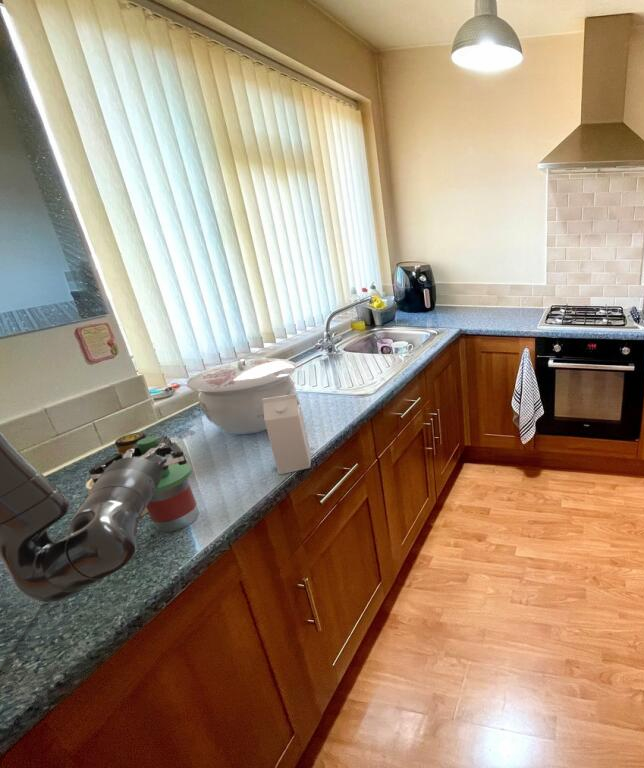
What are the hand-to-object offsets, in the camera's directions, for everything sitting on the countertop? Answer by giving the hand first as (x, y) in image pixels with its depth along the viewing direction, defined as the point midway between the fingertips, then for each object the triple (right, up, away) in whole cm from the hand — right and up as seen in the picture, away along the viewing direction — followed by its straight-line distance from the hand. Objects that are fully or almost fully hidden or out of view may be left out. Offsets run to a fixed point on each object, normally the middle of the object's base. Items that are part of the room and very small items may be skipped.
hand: (154, 442), depth 80 cm
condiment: (-16, -12, +17) cm, 26 cm away
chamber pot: (-7, -1, +45) cm, 45 cm away
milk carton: (+16, -9, +23) cm, 29 cm away
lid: (+1, -7, 0) cm, 8 cm away
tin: (+1, -17, +4) cm, 17 cm away
